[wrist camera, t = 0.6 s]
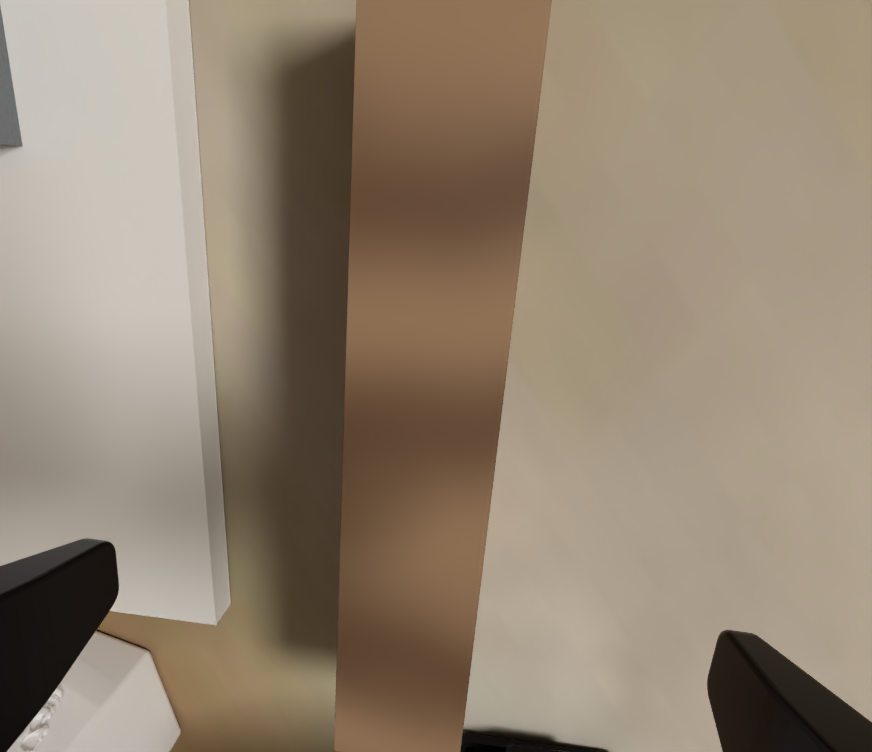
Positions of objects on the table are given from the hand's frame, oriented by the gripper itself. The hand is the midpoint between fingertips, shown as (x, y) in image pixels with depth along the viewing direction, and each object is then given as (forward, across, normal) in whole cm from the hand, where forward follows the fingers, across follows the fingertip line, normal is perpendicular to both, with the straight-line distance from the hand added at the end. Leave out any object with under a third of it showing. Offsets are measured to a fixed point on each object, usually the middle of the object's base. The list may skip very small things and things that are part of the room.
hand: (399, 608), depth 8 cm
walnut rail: (+11, +1, 0) cm, 11 cm away
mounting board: (+11, +18, -1) cm, 21 cm away
